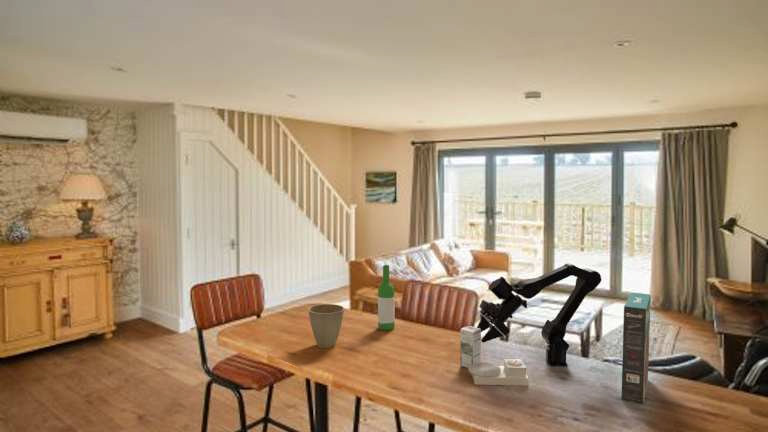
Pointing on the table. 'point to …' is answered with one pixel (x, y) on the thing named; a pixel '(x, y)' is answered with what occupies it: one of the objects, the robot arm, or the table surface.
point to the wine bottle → (386, 302)
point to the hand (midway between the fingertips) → (478, 337)
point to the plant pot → (326, 323)
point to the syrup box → (470, 346)
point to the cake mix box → (635, 347)
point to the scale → (500, 373)
